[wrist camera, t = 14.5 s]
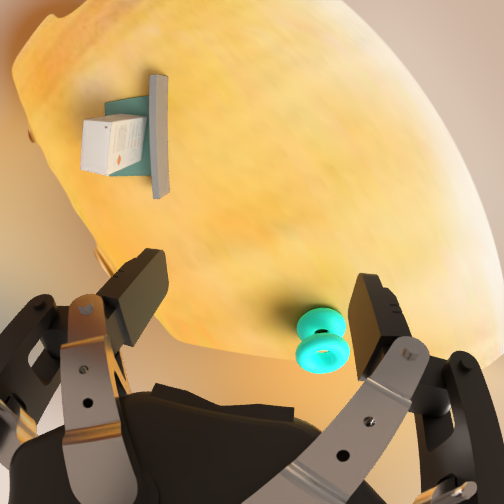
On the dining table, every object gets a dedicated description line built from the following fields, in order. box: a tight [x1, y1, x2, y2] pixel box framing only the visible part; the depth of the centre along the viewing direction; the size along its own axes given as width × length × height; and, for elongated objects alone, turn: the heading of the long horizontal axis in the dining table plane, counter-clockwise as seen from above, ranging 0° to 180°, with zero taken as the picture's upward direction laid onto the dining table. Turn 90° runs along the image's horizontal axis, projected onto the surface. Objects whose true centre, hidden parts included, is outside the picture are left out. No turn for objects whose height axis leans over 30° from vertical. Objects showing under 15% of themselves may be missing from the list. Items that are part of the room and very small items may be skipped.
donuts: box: [296, 308, 350, 374], centre depth 50 cm, size 10×10×10 cm
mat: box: [105, 96, 151, 176], centre depth 41 cm, size 14×11×1 cm
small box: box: [80, 114, 147, 176], centre depth 36 cm, size 8×6×10 cm
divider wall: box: [149, 74, 170, 199], centre depth 39 cm, size 20×1×4 cm, turn 178°
